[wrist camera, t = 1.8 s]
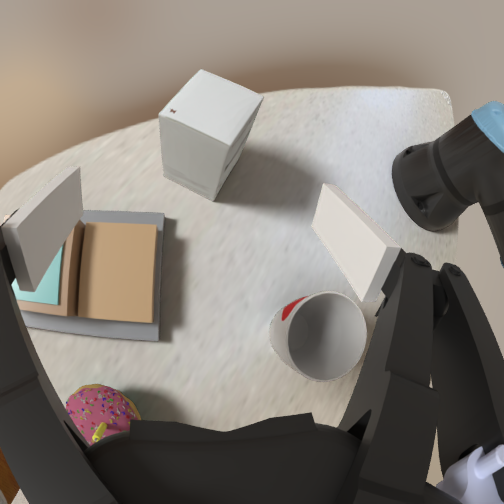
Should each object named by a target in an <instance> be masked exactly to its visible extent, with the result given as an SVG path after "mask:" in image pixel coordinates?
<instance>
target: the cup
mask: <svg viewBox="0 0 504 504" xmlns="http://www.w3.org/2000/svg"><path fill="white" fill-rule="evenodd" d="M269 338H270V343H271V345H272V347H273V349H274V351H275V352H276V353H277V354H278V356H279V357H280V358H281V360H282V361H283V362H284V363H285V364H286V365H288V366H289V367H291V368H292V369H294V370H295V371H297V372H298V373H300V374H301V375H303V376H304V377H306V378H308V379H310V380H313V381H318V382H328V381H333V380H336V379H339V378H341V377H343V376H344V375H346V374H347V373H348V372H350V371H351V370H352V369H353V368H354V367H355V365H356V364H357V363H358V361H359V360H360V358H361V356H362V354H363V351H364V348H365V344H366V338H367V328H366V322H365V319H364V316H363V314H362V311H361V310H360V308H359V307H358V305H357V304H356V303H355V302H354V301H353V300H352V299H351V298H349V297H348V296H346V295H344V294H342V293H339V292H335V291H323V292H319V293H315V294H312V295H309V296H306V297H302V298H299V299H297V300H295V301H293V302H291V303H290V304H288V305H287V306H285V307H283V308H282V309H281V310H279V311H278V312H277V314H276V315H275V316H274V318H273V320H272V322H271V325H270V329H269Z"/></svg>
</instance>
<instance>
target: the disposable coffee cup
mask: <svg viewBox="0 0 504 504" xmlns="http://www.w3.org/2000/svg"><path fill="white" fill-rule="evenodd" d="M19 489H20V487H19V485H18V483H17V481H16V479H15V478H14V476H13V474H12V472H11V470H10V468H9V466H8V463H7V461H6V459H5V457H4V455H3V452H2V450H1V448H0V504H11V503H12V501H13V500H14V498H15V496H16V494H17V493H18V491H19Z"/></svg>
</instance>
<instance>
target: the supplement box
mask: <svg viewBox="0 0 504 504" xmlns="http://www.w3.org/2000/svg"><path fill="white" fill-rule="evenodd" d="M263 98H264V97H263V96H261V95H259V94H257V93H255V92H253V91H251V90H249V89H247V88H245V87H242V86H240V85H238V84H236V83H233V82H231V81H228V80H226V79H224V78H221V77H219V76H217V75H214V74H212V73H210V72H207V71H205V70H203V69H201V70H199V71H198V72H197V73H196V74H195V75H194V76H193V78H191V79H190V80H189V81H188V82H187V83H186V84H185V86H184V87H183V88H182V89H181V90H180V91H179V92H178V93H177V94H176V95H175V96H174V97H173V99H172V100H171V101H170V102H169V103H168V104H167V105H166V106H165V108H164V109H163V110H162V111H161V112H160V113H159V128H160V142H161V154H162V165H163V176H164V177H166V178H168V179H170V180H172V181H174V182H176V183H178V184H180V185H182V186H184V187H186V188H188V189H190V190H192V191H194V192H196V193H197V194H199V195H201V196H203V197H205V198H207V199H209V200H211V201H214V200H215V198H216V196H217V194H218V192H219V190H220V189H221V187H222V185H223V183H224V182H225V180H226V178H227V177H228V175H229V173H230V172H231V170H232V168H233V167H234V165H235V164H236V162H237V161H238V159H239V158H240V155H241V153H242V150H243V148H244V145H245V143H246V140H247V138H248V135H249V133H250V130H251V128H252V125H253V123H254V120H255V118H256V115H257V113H258V110H259V108H260V105H261V103H262V101H263Z"/></svg>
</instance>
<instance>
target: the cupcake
mask: <svg viewBox="0 0 504 504" xmlns="http://www.w3.org/2000/svg"><path fill="white" fill-rule="evenodd" d="M66 404H67V405H66V411H67V412H68V414H69V416H70V417H71V419H72V421H73V422H74V424H75V425H76V427H77V428H78V430H79V431H80V433H81V434H82V435H83V437H84V438H85V439H86V441H87V442H88V443H89V445H90V446H91V445H92V444H94V443H95V442H97V441H99V440H101V439H102V438H104V437H107V436H110V435H112V434H115V433H119V432H123V431H129V430H130V419H134V420H141V417H140V414H139V412H138V411H137V409H136V407H135V405H134V403H133V402H132V401H131V400H129V399H128V398H127V397H125V396H124V395H123V394H122V393H121V392H120V391H118V390H116V389H113V388H111V387H107V386H104V385H100V384H92V385H85V386H82V387H80V388H79V389H78V390H77V391H76V392H75V393H74V394H72V395H71V396H70V397H69V399H68V400H67V402H66Z"/></svg>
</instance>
